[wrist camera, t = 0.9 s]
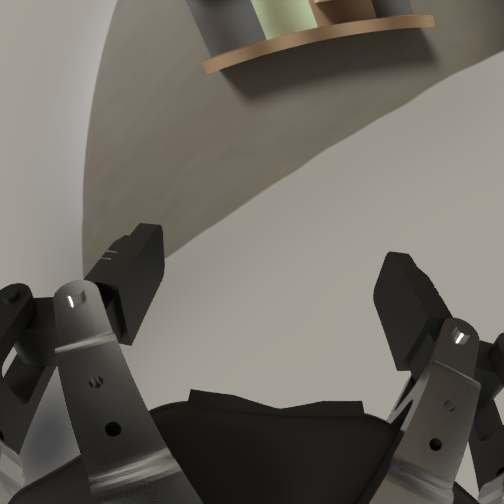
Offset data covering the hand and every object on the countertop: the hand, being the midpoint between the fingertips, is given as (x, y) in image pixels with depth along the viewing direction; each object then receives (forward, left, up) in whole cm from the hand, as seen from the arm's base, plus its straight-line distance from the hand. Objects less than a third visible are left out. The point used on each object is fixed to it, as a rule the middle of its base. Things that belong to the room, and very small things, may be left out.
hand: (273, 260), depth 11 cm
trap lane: (-11, +6, -26) cm, 29 cm away
